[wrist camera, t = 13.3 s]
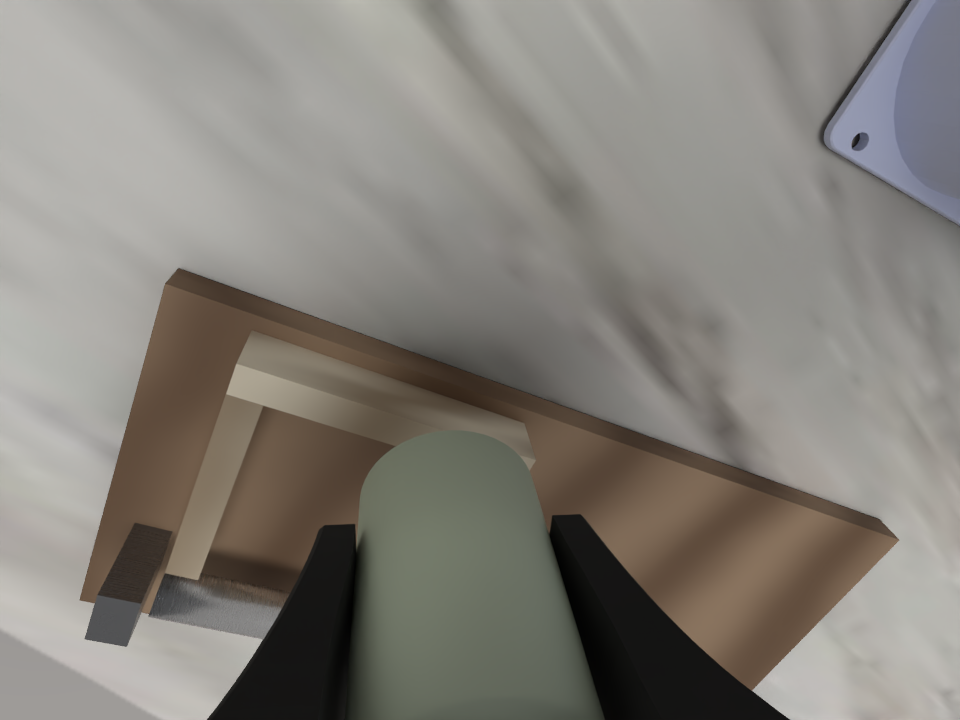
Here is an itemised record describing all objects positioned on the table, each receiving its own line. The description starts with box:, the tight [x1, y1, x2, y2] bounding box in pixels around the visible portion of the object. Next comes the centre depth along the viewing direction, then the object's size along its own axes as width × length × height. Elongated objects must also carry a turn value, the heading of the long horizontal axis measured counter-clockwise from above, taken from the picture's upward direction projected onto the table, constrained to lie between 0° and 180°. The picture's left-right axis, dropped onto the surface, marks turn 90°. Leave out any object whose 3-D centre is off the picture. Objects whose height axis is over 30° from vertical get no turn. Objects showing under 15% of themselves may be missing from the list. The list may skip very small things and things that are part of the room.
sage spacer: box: [345, 430, 605, 720], centre depth 12 cm, size 4×4×6 cm
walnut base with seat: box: [80, 268, 899, 691], centre depth 24 cm, size 29×13×3 cm, turn 64°
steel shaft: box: [149, 573, 291, 639], centre depth 23 cm, size 16×3×3 cm, turn 64°
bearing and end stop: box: [85, 523, 172, 647], centre depth 22 cm, size 14×4×3 cm, turn 64°
